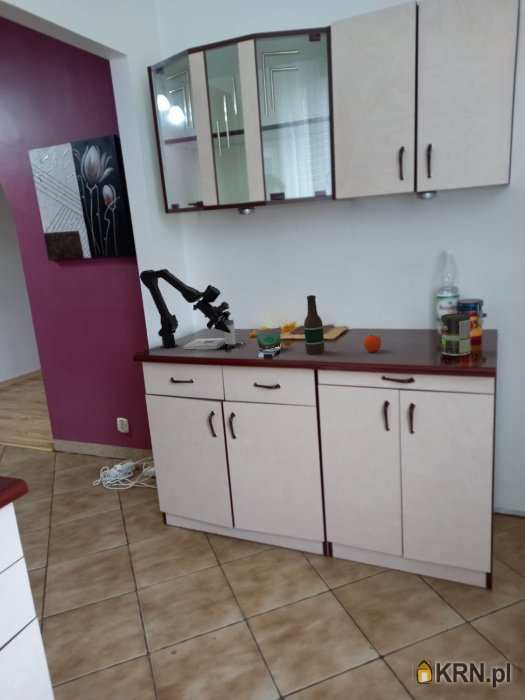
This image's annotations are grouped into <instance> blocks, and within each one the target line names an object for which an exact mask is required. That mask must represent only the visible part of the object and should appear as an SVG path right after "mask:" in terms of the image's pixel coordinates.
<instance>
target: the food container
mask: <svg viewBox="0 0 525 700" xmlns="http://www.w3.org/2000/svg"><path fill="white" fill-rule="evenodd" d="M282 332H283V330H282V327H281V326H279V327H276V328H265V329H255V331H254V335H256V340H257V344H258V349H259V351H260V352H261V351H263V350H265V349H271V348H275V347H278V346H279V347H280V348H281V333H282Z"/></svg>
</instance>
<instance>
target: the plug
mask: <svg viewBox="0 0 525 700" xmlns="http://www.w3.org/2000/svg"><path fill="white" fill-rule="evenodd" d="M234 321H235V320H234V319H229V320H225V321H223V322H224V324H225V325H226V326H227V327H228V329H229V330H230V331H231V332H230V333H227V332H224V331H223V338H224V339H225V344H235V345H237V339H236V334H235V333H236V332H235V323H234ZM225 344H224V345H225Z"/></svg>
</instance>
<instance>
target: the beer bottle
mask: <svg viewBox="0 0 525 700" xmlns="http://www.w3.org/2000/svg"><path fill="white" fill-rule="evenodd" d="M306 299H307V301H306V302H307V315H306V317H305V319H304V322H303V328H304V329H303V331H304V344H305V352H306V354H307V355H310V356H311V355H313V356H314V355H321V354H323V353H325V338H324V325H323V320H322V318H321V317H320V316H319V314H318V313H319V312H318V310H317V309H318V307H317V302H316V295H314V294H313V295H311V294H310V295H306Z"/></svg>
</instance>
